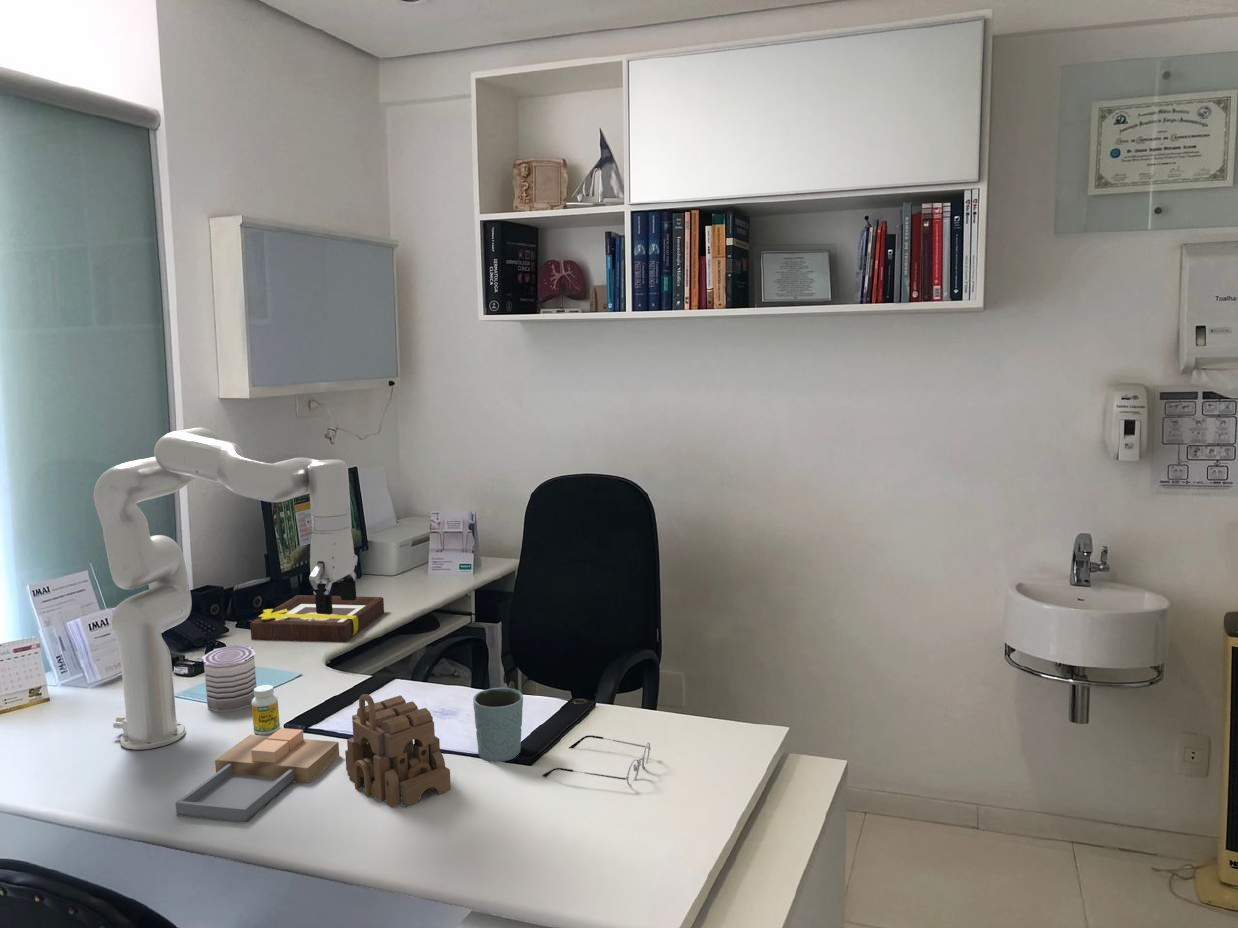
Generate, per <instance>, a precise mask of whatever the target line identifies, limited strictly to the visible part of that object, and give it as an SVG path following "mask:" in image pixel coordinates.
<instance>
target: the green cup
mask: <svg viewBox="0 0 1238 928" xmlns="http://www.w3.org/2000/svg"><path fill="white" fill-rule="evenodd" d="M472 699H473V709H474V711H473V712H474V724H475V729H476V731H475V733H476V741H477V753H478V756H479V758H480V759H481V760H484V761H487V762H491V763H492V762H493V763H496V762H498V763H499V762H507V761H510V760H513V759H515V758H517V757H518V756H519V755H520V754H519V753H521V745H522V743H521V742H522V725H523V706H524V704H523V703H524V695H523V693H522V692H521V691H520V690H518V689H515V688H509V687H493V688H488V689H484V690H482V691H479V692H477V693H476V694H475V695H474V696H473V698H472ZM518 754H519V755H518ZM517 755H518V756H517ZM516 756H517V757H516Z"/></svg>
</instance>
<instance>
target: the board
mask: <svg viewBox="0 0 1238 928" xmlns="http://www.w3.org/2000/svg"><path fill="white" fill-rule="evenodd" d="M269 736H270V735H260V734H257V735H256V734H249V735H247V736H246V737H245V738H243V740H241V741H239V742H238V743H236V744H235V745H234V746H232V747H231V748H229V749H227V751H225V752H224V753H222V754H221V755H219V756H218V757H217V758H215V759H214V765H215V766H214V767H215V773H216V772H218V771H219V770H221V769H222V768H223V767H225V766H226V765H227V764H232V766H233V774H244V775H255V776H266V777H277V778H280V777H281V776H282V775H283V774H284V773H286V772H287V771H288V770H289V769H294V780H295V782H294V783H297V782H298V783H306V784H309V783H310V782H311V781H313V780H314V779H315V778H316V777H317V776H319V774H321V773H322V772H323V771H324V770H325V769H326V768H327V767H328V766H329V765H331V764H332V763H333V762H334V761H335V760H336V759H338V758H339V757H340V744H339V741H334V740H321V739H311V738H310V739H307V738H304V740H303V741H302V742H301V743H299V744H298V745H297V746H296V747H294V748H293V749H292V750H291V751H290V750H289V752H288V753H287V754H286V755H284V756H283V757H282V758H280V759H279V760H278V761H277V762H275V763H271V762H259V761H252V756H251V750H252V749H253V748H255V747H256V746H257V745H259V744H260V743H261V742H263V741H264V740H265V739H266V740H267V738H268V737H269Z"/></svg>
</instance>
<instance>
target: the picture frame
mask: <svg viewBox="0 0 1238 928" xmlns="http://www.w3.org/2000/svg"><path fill="white" fill-rule="evenodd" d="M332 610H333V613H332V614H317V613H316V599H315V595H314V594H312V595H309V594H308V595H307V594H306V595H305V594H303V595H302V594H301V595H300V594H296V595H295V596H293V597H292V598H290V599H289V600H286V601H285V602H283V603H282V604H280V605H278V606H276V607H275V608H267V609H262V613H261V614H260V615H258V616H257V617H256V619H254V620H252V621H251V622H250V623H249V625H250V638H251V641H259V640H260V641H281V642H282V641H284V642H285V641H286V642H287V641H288V642H314V643H315V642H316V643H317V642H320V643H321V642H322V643H323V642H324V643H348V642H349V641H351V640H352V639H353V638H354V637H355V636H357V635H358V634H359V633H360V632H363V630H365V628H367V627H368V626H369V625H371V624H372V623H373V622H375V621H376V620H377V619H378V618H380V617H381V616H383V614H385V602H384V597H381V596H358V595H356V600H342V599H341V595H332Z"/></svg>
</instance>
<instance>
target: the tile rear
mask: <svg viewBox="0 0 1238 928" xmlns="http://www.w3.org/2000/svg"><path fill="white" fill-rule="evenodd" d="M268 736H269V737H268V738H267V740H278V741H288V746H289V750H290V751H291V750H292V749H293V748H294V747H296V746H297V745H298V744H299V743H301V742H302V741H303V740H304V739H305V738H304V730H303V729H296V728H285V727H284V728H283V727H280V728H279V729H278V730H277V731H276V732H274V733H271V735H268Z"/></svg>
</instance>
